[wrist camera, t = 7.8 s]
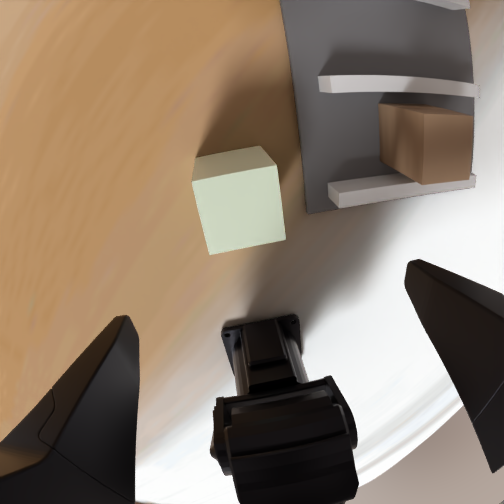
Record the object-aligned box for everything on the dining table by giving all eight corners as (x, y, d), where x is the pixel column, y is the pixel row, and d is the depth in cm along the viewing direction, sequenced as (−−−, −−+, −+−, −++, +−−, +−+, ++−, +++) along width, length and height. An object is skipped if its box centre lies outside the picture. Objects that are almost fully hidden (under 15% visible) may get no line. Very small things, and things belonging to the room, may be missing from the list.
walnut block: (424, 157, 19) (469, 179, 15) (379, 161, 19) (421, 185, 15) (424, 104, 17) (473, 116, 13) (378, 103, 17) (423, 113, 13)
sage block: (268, 204, 20) (285, 239, 16) (208, 216, 20) (209, 255, 16) (259, 145, 18) (276, 165, 14) (195, 157, 18) (191, 181, 14)
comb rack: (466, 186, 22) (484, 197, 20) (306, 211, 21) (317, 227, 19) (458, -7, 13) (478, -10, 11) (272, -36, 12) (280, -50, 10)
